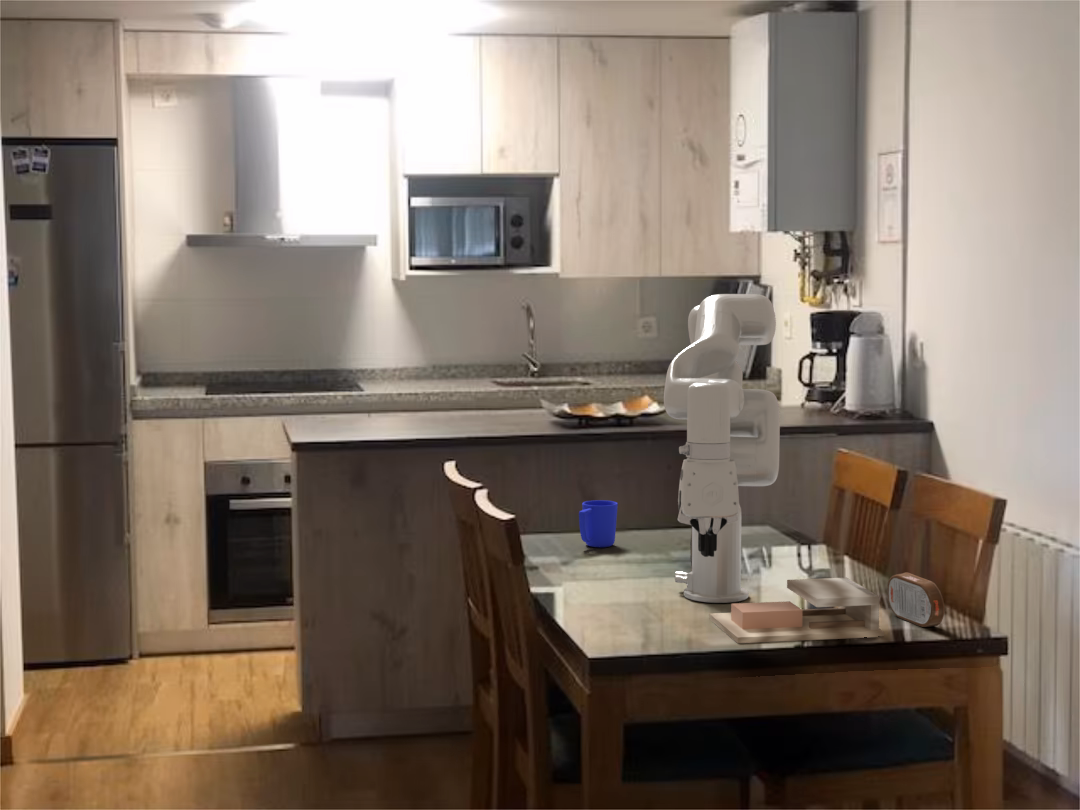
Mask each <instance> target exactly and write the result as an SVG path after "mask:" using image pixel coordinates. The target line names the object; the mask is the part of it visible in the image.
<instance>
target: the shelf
mask: <svg viewBox="0 0 1080 810" xmlns="http://www.w3.org/2000/svg"><path fill="white" fill-rule="evenodd" d="M786 588H787V589H788V590H790V591H791V592H792V593H794V594H796V595H797V596H798V597H800V598H802V600H803V599H804V600H805V601H806V602H808V603H809V604H811V605H813V606H814V607H816V608H805V609H804V608H801V609H802V610H803V612H802V627H783V628H759V629H742V628H740V627H739V626H738V625H737V624H735V623H734V622H733V621H732V620H731V612H717V613H714V612H713V613H709V614H708V615H709V616H708V619H709V620H710V621H711V622H712V623H714V625H716V626H717V627H718V628H719V629H720V630H721V631H723V632H724V633H725V634H726V635H727V636H729V637H730V639H732V640H733V641H734V642H736V643H737V644H748V643H749V644H752V643H754V644H755V643H769V642H770V643H773V642H794V641H795V642H796V641H798V642H799V641H816V640H818V641H819V640H820V641H821V640H838V639H839V640H841V639H860V638H864V637H867V638H879V637H878V636H885V635H884V633H885V631H884V630H883V629H881V628H880V596H879V595H878V594H876V593H874V592H872V590H871V591H870V589H868V588H866V587H864V586H862V585H861V584H859V583H857V582H855V581H853V580H851V579H849V578H848V577H826V578H825V577H824V578H798V579H787V580H786Z"/></svg>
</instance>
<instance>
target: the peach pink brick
mask: <svg viewBox="0 0 1080 810" xmlns="http://www.w3.org/2000/svg"><path fill="white" fill-rule="evenodd" d="M730 604H731V605H730V606H731V607H730V608H731V609H730V613H731V620H732V621H733V622H734V623H735V624H737V625H738V626H739V627H740V628H742V629H759V628H783V627H802V612H803V610H802V609H803V608H800V607H799V606H797V605H796V604H795V603H793V602H791V601H765V602H741V603H740V602H739V603H738V602H733V603H730Z"/></svg>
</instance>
